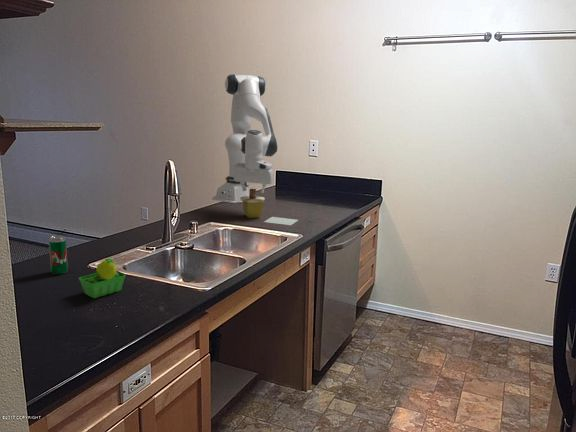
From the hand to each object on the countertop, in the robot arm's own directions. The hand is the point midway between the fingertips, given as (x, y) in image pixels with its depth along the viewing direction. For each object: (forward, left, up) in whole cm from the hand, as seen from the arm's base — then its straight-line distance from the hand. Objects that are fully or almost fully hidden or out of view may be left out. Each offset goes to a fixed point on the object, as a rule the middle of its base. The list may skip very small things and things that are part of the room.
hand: (253, 191), depth 242 cm
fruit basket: (-2, -109, -13) cm, 110 cm away
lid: (0, 0, -4) cm, 4 cm away
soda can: (-26, -101, -13) cm, 105 cm away
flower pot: (0, 0, -13) cm, 13 cm away
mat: (+16, -2, -13) cm, 21 cm away
